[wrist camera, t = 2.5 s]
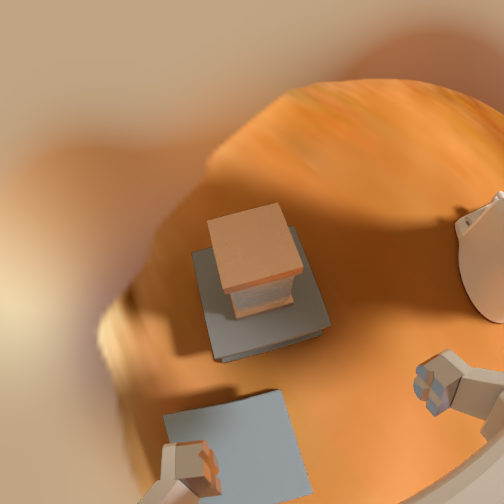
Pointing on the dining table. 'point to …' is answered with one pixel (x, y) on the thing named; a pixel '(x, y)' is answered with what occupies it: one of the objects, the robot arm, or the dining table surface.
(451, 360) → the robot arm
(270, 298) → the block
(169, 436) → the stand
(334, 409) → the dining table surface
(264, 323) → the stand
